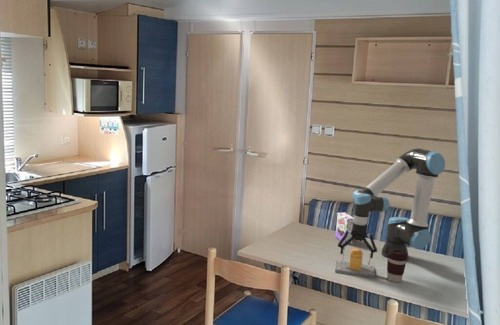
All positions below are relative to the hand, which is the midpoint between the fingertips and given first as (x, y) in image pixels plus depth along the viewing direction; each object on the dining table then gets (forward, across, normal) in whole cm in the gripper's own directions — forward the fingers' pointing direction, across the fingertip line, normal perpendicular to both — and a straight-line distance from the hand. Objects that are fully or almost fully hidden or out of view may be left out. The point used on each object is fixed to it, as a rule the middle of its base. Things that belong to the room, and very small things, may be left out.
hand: (355, 261), depth 258 cm
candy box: (+5, +7, -50) cm, 51 cm away
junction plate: (+5, 0, 0) cm, 5 cm away
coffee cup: (+5, -20, +5) cm, 21 cm away
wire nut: (+3, 0, 0) cm, 3 cm away
